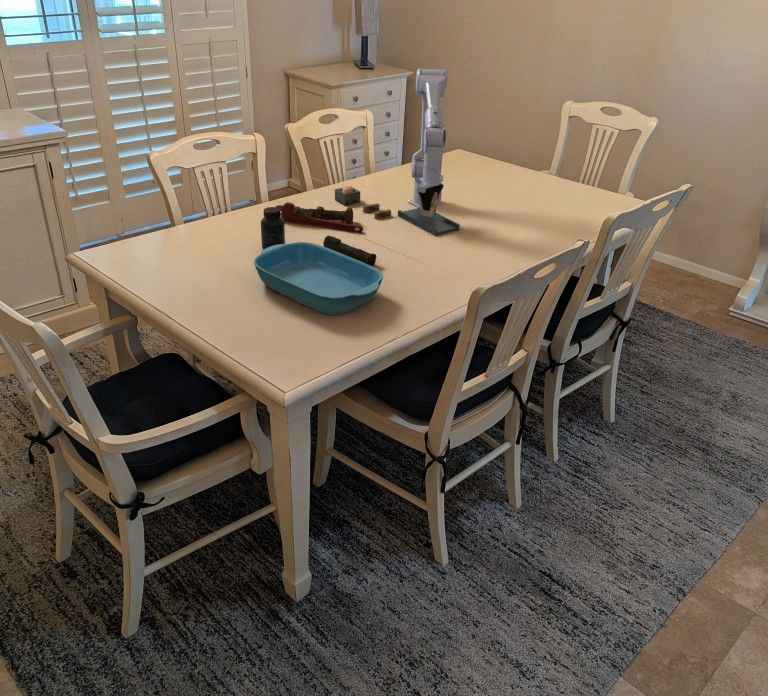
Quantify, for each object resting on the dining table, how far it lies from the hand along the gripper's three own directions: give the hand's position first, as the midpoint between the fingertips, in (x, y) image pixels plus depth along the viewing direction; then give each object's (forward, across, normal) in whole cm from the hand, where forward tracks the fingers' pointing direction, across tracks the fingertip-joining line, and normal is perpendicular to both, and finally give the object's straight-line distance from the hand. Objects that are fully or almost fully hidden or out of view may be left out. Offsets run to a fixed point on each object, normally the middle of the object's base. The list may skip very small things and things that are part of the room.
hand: (429, 208), depth 222 cm
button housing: (+5, -3, -32) cm, 33 cm away
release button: (+4, -3, -32) cm, 33 cm away
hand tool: (+6, +38, -9) cm, 39 cm away
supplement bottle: (+5, +44, -30) cm, 54 cm away
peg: (+2, 0, 0) cm, 2 cm away
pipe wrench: (+6, +22, -28) cm, 37 cm away
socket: (+5, +2, -18) cm, 19 cm away
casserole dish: (+6, +60, -4) cm, 61 cm away
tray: (+5, 0, 0) cm, 5 cm away
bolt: (+6, +16, -28) cm, 33 cm away
